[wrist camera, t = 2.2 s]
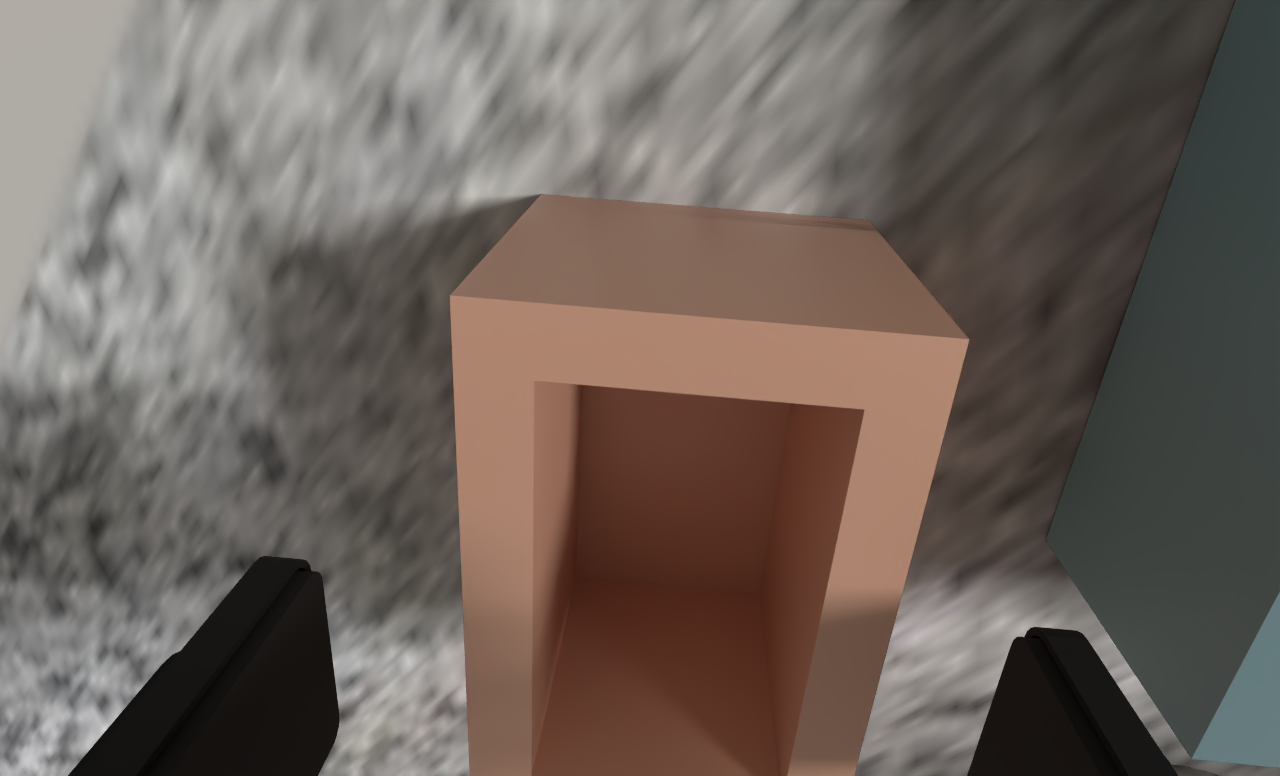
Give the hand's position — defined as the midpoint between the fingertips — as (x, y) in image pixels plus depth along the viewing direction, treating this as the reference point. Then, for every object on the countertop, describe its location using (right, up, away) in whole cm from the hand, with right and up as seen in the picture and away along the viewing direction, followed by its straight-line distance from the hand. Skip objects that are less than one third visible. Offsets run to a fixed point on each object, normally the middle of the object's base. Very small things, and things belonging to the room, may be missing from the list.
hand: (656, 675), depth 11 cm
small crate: (+1, +3, +6) cm, 7 cm away
